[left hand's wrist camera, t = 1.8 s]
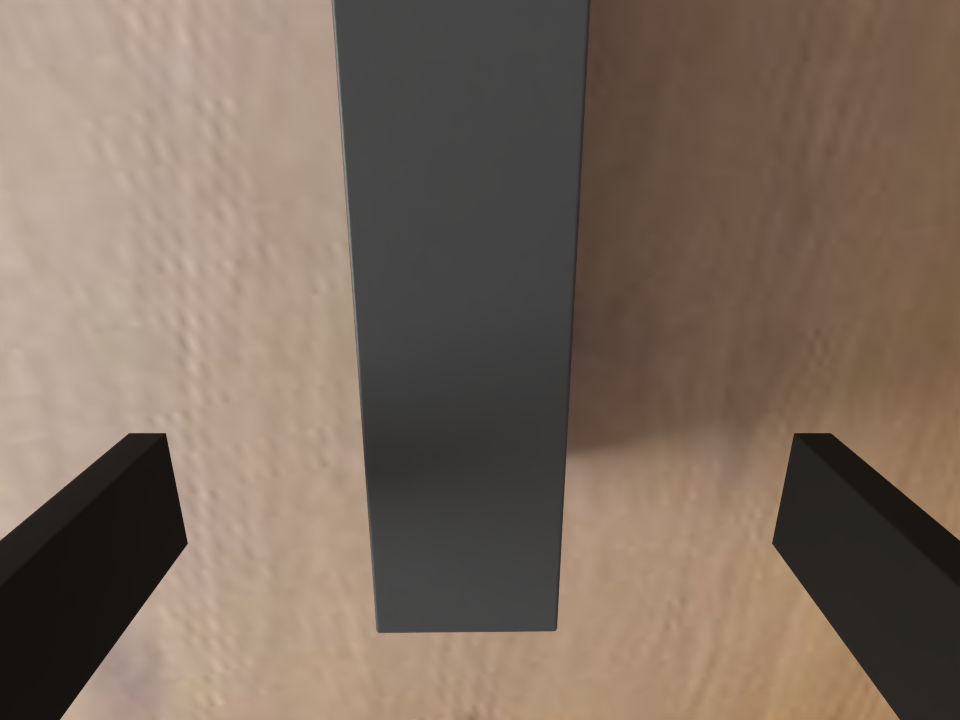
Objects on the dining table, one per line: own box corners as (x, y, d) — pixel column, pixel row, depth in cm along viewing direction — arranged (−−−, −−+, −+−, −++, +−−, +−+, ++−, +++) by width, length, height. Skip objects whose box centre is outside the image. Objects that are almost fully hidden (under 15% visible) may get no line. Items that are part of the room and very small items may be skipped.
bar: (527, 462, 23) (557, 632, 15) (410, 462, 23) (376, 634, 15) (551, -357, 15) (641, -932, 7) (374, -359, 15) (264, -938, 7)
